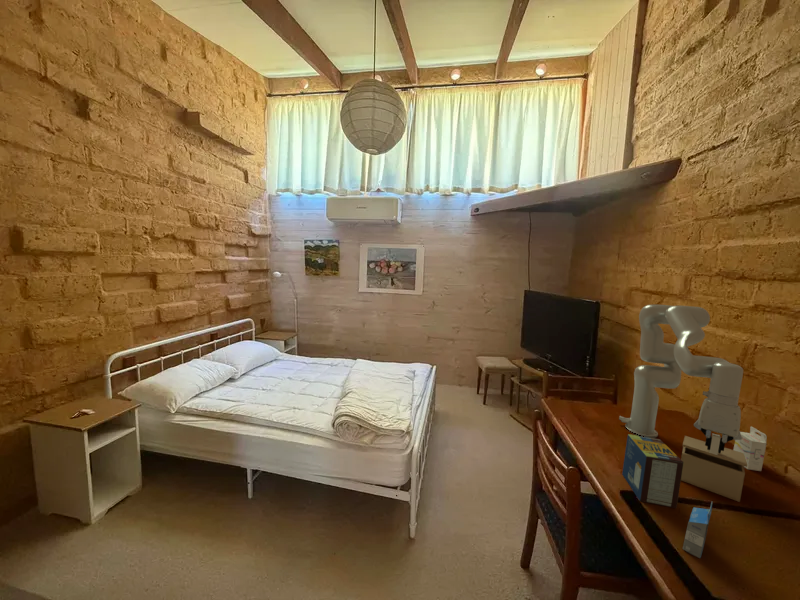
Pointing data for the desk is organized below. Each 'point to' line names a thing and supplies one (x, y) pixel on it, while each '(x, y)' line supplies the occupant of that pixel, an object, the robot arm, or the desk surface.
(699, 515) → the label tape box
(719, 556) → the desk surface
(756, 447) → the ink cartridge box
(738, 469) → the carton
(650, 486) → the protein box
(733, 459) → the carton flap
